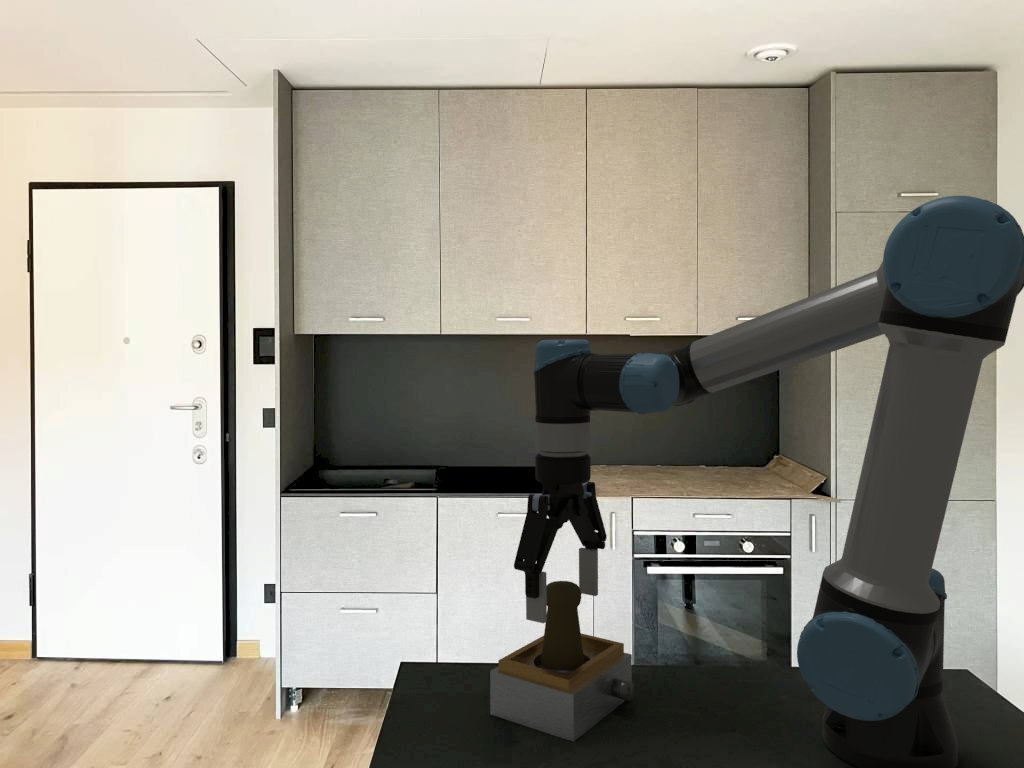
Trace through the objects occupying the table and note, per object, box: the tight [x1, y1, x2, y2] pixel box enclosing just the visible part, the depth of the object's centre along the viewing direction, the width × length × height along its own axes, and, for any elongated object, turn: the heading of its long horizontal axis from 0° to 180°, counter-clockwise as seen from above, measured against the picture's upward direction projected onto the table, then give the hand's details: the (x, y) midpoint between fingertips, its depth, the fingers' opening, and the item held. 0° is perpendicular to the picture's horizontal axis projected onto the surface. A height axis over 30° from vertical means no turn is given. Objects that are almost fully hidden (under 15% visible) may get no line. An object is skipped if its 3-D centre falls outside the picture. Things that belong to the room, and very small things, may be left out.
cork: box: [541, 580, 584, 671], centre depth 110 cm, size 6×6×11 cm
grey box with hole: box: [489, 633, 636, 743], centre depth 110 cm, size 15×16×8 cm
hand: (563, 607), depth 110 cm, fingers open, 13 cm apart
